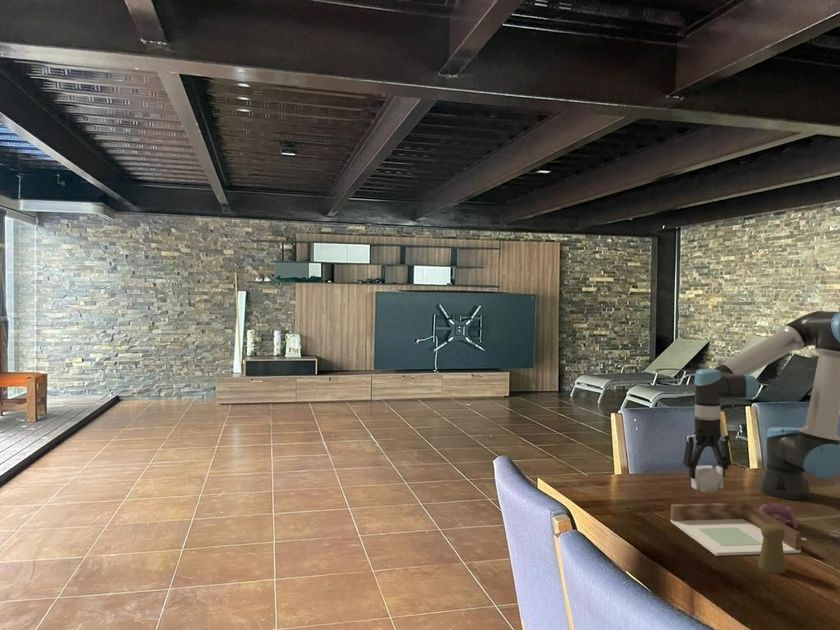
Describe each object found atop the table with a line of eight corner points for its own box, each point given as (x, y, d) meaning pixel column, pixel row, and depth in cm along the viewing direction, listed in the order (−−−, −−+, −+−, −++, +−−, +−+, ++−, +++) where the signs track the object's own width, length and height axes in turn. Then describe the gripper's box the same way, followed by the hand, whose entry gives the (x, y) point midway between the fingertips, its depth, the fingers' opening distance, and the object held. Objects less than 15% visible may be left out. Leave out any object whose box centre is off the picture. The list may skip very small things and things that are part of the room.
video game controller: (795, 530, 183) (792, 506, 185) (799, 528, 179) (796, 504, 181) (758, 526, 186) (756, 502, 188) (761, 524, 182) (759, 500, 185)
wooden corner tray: (744, 519, 187) (745, 502, 187) (800, 552, 163) (801, 533, 163) (670, 521, 185) (670, 504, 184) (716, 555, 161) (716, 536, 161)
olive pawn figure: (753, 563, 156) (754, 521, 156) (775, 562, 157) (776, 520, 157) (768, 574, 150) (769, 530, 150) (791, 573, 151) (792, 529, 151)
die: (720, 498, 190) (730, 471, 193) (695, 484, 191) (706, 457, 194) (707, 499, 198) (717, 472, 200) (683, 485, 198) (693, 459, 201)
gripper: (730, 414, 200) (730, 482, 201) (671, 416, 198) (670, 485, 199) (744, 418, 192) (744, 489, 193) (683, 421, 190) (682, 492, 191)
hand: (707, 487), depth 196 cm, fingers closed on die, 8 cm apart
